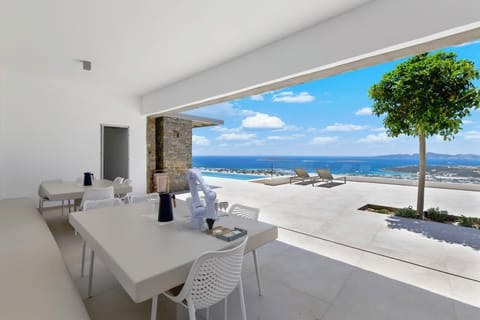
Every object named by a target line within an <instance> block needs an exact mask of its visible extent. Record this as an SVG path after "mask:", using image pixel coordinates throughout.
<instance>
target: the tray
mask: <svg viewBox="0 0 480 320" xmlns="http://www.w3.org/2000/svg"><path fill="white" fill-rule="evenodd" d="M233 230H234V231H240V233H238V234H235V235H233V234H232V235H231V236H227V235H225V234H224V235H221V234H218V233H217V234H216V237H215V238H217V239H219V240H222V241H225V242H228V243H229V242H232V241H235V240H237V239H239V238H242V237H245V236H247V235H248V230H247V229H245V228H240V227H236V226H234V227H233ZM234 231H233V232H234Z"/></svg>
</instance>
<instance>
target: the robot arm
mask: <svg viewBox="0 0 480 320" xmlns="http://www.w3.org/2000/svg"><path fill="white" fill-rule="evenodd" d="M185 177H186V181H187V183H188V186H189V187H188V188H189V191H190V195H191V196H190V197H192V200H193V205H192V206H191V211H190V215H191V216H190V217H191V219H190V226H189V229H192V230H195V229H198V230H199V229H203V228H204V222H205V221H206V222H207V223H206V224H207V227H208V230H211V229H212V228H214V224H215V222H218V221H220V218H219V216H217V217H216V210H215V203H216V202H215V201H216V200H217V193H216V192H215V191H214V190H212V189H211V187H210V185H209V184H208V183H206V181H205V179H204V178H203V175H202V170H201V168H199V167H198V168H187V169H186V171H185ZM197 182H198V183H199V185H200V190H201V191H202V193H203V194H204V197H203V198H204V200H205V204H206V205H204V203H201V202H200V198H201V197H200V195H199V191H198V187H197ZM195 207H196V208H195ZM205 207H206V208H205ZM205 213H206V214H205ZM205 218H206V219H205ZM204 220H205V221H204Z"/></svg>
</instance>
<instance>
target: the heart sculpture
mask: <svg viewBox="0 0 480 320" xmlns="http://www.w3.org/2000/svg"><path fill="white" fill-rule="evenodd" d="M199 198H200V202H201V203H203V199H202V197H199ZM203 204H204V203H203ZM185 205H186V208H187V209H188V210H189V211H190V212H191V206H192V205H193V200H192V196H189V197H188V196H187V197H186V198H185ZM195 208H196V207H195ZM191 217H192V216H188V217H187V219H190V220H191Z"/></svg>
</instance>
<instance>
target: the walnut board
mask: <svg viewBox="0 0 480 320" xmlns="http://www.w3.org/2000/svg"><path fill="white" fill-rule="evenodd" d="M215 230H221V231H222V234H221V235H224V236H225V235H226V234H230V233H232V232H234V229H232V228H227V227H225V226H221V225H218V226H216V227H213V228H212V229H211V230H209V229H207V230H203V231H201V233H202V234H205V235H208V236H210V237H212V238H213V237H214V238H216V235H214V234H213V231H215Z"/></svg>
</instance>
